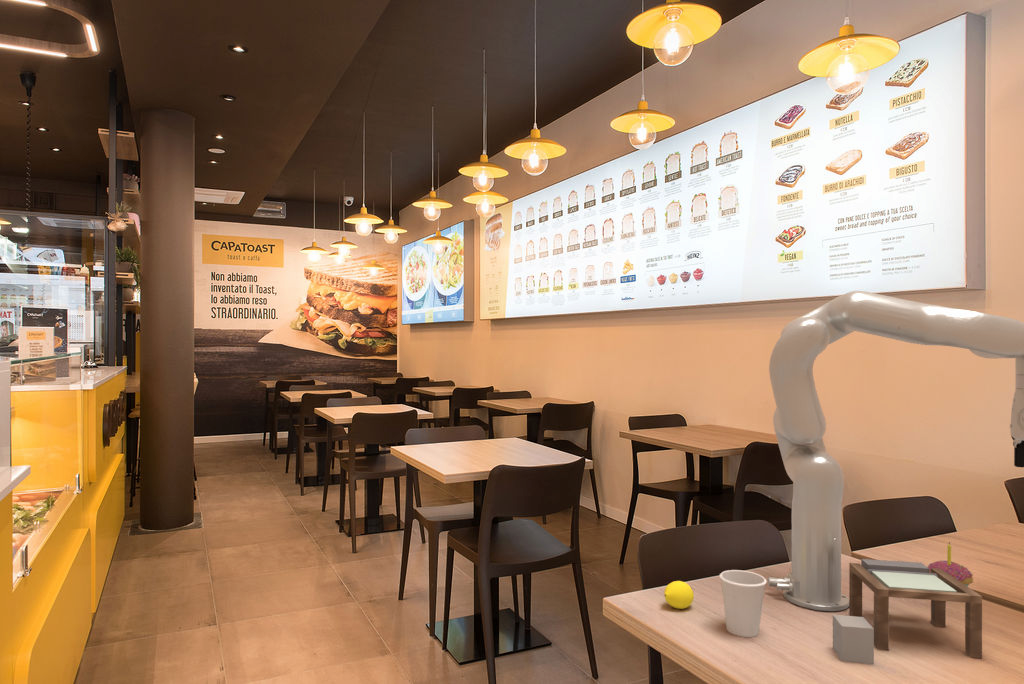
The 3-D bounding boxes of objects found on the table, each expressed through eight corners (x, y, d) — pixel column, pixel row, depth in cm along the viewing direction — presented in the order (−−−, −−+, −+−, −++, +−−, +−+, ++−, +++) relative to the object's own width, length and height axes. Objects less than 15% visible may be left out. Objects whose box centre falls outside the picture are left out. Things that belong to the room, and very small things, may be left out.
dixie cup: (709, 625, 124) (710, 572, 124) (743, 618, 127) (744, 567, 127) (741, 643, 116) (741, 587, 116) (776, 636, 119) (776, 581, 120)
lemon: (681, 603, 136) (684, 577, 136) (699, 612, 131) (702, 585, 132) (655, 603, 133) (658, 577, 134) (672, 613, 128) (675, 585, 129)
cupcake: (974, 605, 136) (974, 547, 136) (926, 596, 140) (926, 541, 140) (971, 592, 143) (971, 538, 143) (925, 585, 147) (925, 532, 148)
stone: (841, 661, 110) (841, 626, 110) (832, 648, 115) (832, 614, 115) (873, 664, 109) (873, 628, 109) (863, 651, 114) (863, 617, 114)
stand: (877, 649, 114) (877, 589, 114) (849, 616, 129) (849, 562, 129) (982, 658, 111) (982, 596, 111) (941, 623, 126) (941, 568, 126)
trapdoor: (886, 601, 116) (886, 583, 116) (858, 574, 130) (858, 558, 130) (960, 606, 114) (960, 588, 114) (923, 579, 128) (923, 562, 128)
